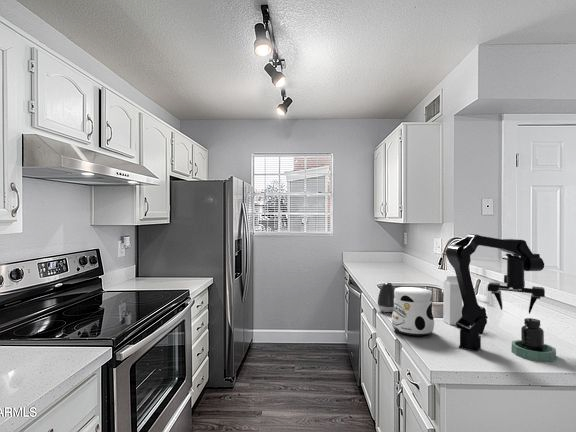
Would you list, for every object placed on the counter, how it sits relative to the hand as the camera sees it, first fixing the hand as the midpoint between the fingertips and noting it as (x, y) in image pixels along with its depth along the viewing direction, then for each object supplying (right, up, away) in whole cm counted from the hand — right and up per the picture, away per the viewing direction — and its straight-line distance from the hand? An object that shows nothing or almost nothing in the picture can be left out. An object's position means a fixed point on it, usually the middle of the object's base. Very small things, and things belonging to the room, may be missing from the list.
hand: (515, 311), depth 143 cm
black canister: (-36, -13, +50) cm, 63 cm away
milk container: (-35, -13, +15) cm, 40 cm away
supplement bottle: (0, -13, -10) cm, 16 cm away
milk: (-11, -13, +30) cm, 34 cm away
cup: (0, -13, -10) cm, 16 cm away
